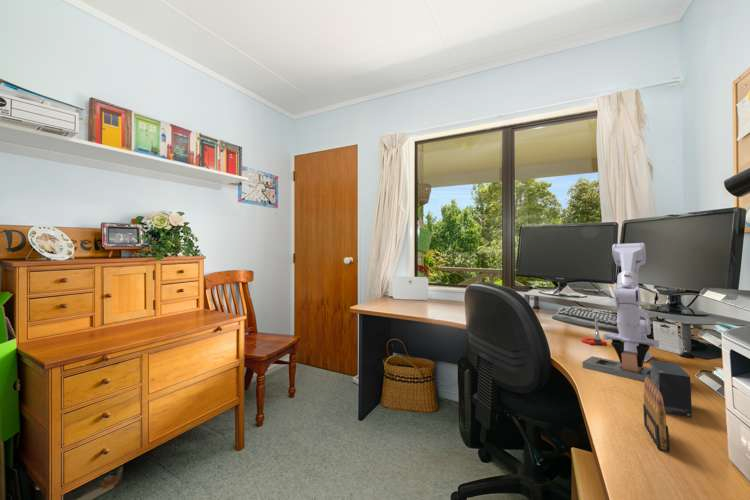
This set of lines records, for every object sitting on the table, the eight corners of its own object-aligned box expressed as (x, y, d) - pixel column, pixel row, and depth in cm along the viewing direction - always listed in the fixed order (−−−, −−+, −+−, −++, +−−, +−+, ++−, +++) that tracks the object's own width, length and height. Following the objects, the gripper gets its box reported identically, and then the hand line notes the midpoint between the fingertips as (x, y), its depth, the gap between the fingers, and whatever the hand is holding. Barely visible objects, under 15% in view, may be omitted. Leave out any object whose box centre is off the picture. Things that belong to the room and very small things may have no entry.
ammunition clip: (644, 424, 74) (640, 374, 75) (654, 426, 74) (650, 375, 74) (658, 449, 65) (654, 392, 65) (670, 452, 64) (666, 393, 64)
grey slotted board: (592, 361, 117) (592, 356, 117) (689, 382, 96) (688, 375, 96) (582, 367, 112) (582, 361, 112) (683, 390, 91) (682, 383, 91)
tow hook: (578, 340, 146) (588, 345, 137) (576, 313, 147) (586, 315, 138) (597, 340, 145) (609, 345, 136) (595, 312, 146) (607, 315, 137)
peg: (626, 370, 107) (625, 350, 107) (641, 374, 104) (640, 353, 104) (622, 373, 104) (621, 353, 105) (637, 377, 101) (636, 355, 101)
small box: (695, 419, 76) (692, 376, 76) (659, 413, 79) (657, 371, 79) (681, 401, 85) (679, 362, 85) (650, 396, 88) (648, 359, 88)
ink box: (658, 347, 130) (657, 320, 131) (685, 354, 121) (683, 324, 121) (653, 348, 130) (651, 320, 130) (679, 355, 121) (677, 325, 121)
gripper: (599, 322, 108) (601, 362, 108) (654, 329, 96) (656, 373, 96) (606, 319, 112) (608, 357, 112) (659, 325, 100) (662, 367, 100)
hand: (631, 364), depth 104 cm, fingers open, 4 cm apart
